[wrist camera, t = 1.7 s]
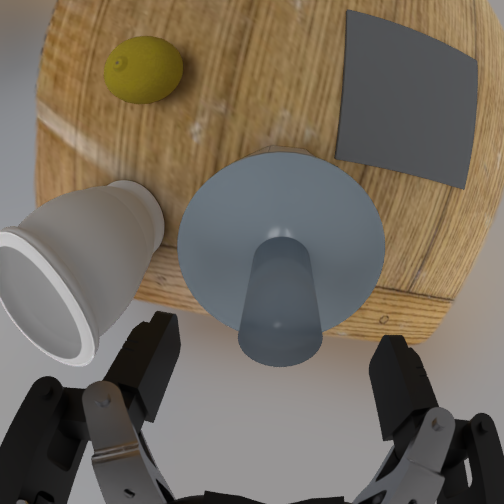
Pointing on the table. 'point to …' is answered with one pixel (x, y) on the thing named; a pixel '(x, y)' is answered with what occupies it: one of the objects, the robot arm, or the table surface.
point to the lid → (281, 252)
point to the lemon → (143, 70)
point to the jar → (78, 266)
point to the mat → (406, 101)
